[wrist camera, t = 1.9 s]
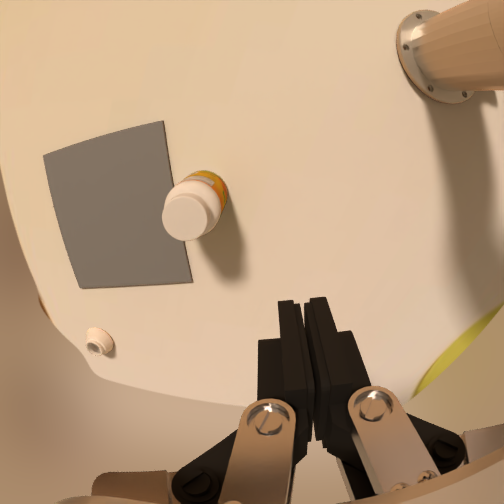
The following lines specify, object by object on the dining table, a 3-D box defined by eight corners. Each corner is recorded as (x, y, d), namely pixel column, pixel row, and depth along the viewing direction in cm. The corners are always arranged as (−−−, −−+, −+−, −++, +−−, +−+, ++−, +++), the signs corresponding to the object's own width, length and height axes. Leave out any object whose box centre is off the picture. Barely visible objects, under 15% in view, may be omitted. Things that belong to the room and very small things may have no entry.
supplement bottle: (221, 220, 35) (208, 256, 26) (177, 208, 34) (149, 240, 25) (233, 176, 32) (223, 197, 24) (187, 164, 32) (160, 181, 23)
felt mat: (163, 120, 30) (162, 120, 30) (192, 280, 38) (191, 281, 38) (44, 155, 31) (43, 155, 31) (81, 286, 39) (79, 288, 39)
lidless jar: (116, 351, 45) (110, 328, 43) (110, 363, 42) (103, 340, 40) (92, 346, 45) (85, 323, 43) (85, 357, 42) (77, 334, 40)
